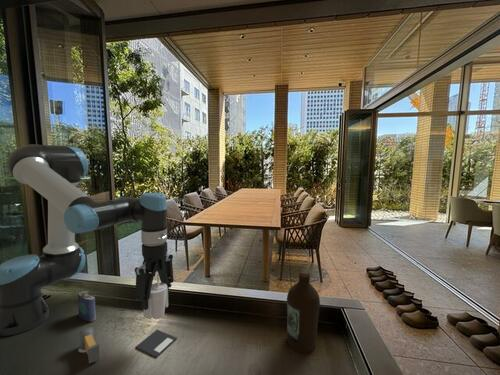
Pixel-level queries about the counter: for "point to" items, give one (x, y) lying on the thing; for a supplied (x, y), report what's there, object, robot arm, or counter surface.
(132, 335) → the counter surface
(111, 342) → the counter surface
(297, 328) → the olive oil
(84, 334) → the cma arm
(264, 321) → the counter surface
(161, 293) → the smoothie
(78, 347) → the base
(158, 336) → the pad
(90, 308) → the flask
